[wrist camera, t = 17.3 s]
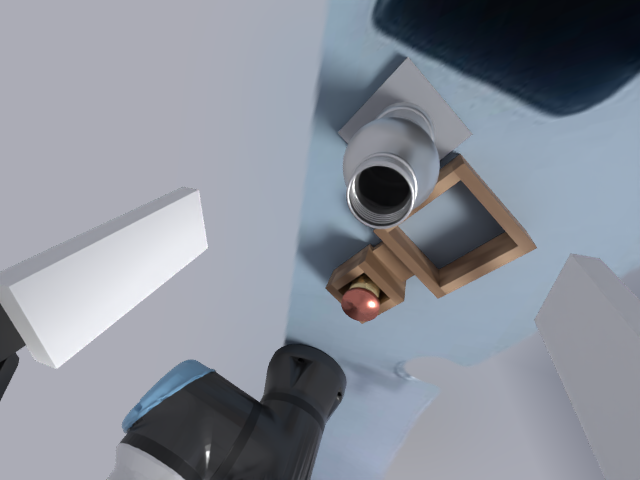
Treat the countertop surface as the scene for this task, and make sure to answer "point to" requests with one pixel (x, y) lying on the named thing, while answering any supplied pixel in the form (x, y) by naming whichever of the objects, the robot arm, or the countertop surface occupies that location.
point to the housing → (407, 259)
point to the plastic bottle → (391, 165)
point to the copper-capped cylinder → (361, 299)
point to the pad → (416, 90)
